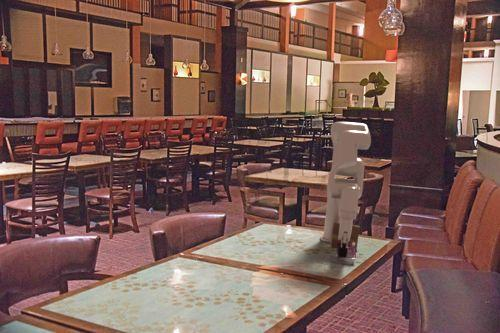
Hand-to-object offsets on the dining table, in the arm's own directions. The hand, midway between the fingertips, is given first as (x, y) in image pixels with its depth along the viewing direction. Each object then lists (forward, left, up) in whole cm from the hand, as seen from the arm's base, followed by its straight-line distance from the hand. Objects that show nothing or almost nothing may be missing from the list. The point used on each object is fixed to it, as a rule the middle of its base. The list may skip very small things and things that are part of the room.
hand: (343, 254), depth 225 cm
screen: (-20, 0, -3) cm, 20 cm away
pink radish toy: (0, +1, -1) cm, 1 cm away
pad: (0, 0, -3) cm, 3 cm away
